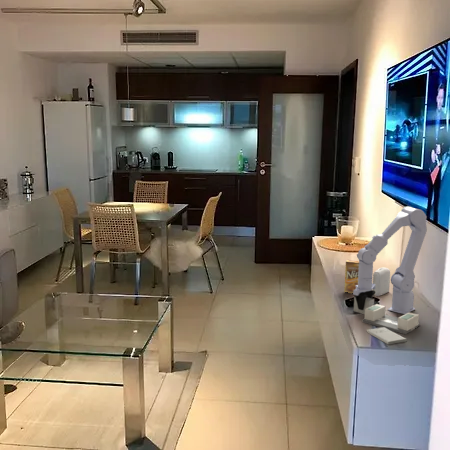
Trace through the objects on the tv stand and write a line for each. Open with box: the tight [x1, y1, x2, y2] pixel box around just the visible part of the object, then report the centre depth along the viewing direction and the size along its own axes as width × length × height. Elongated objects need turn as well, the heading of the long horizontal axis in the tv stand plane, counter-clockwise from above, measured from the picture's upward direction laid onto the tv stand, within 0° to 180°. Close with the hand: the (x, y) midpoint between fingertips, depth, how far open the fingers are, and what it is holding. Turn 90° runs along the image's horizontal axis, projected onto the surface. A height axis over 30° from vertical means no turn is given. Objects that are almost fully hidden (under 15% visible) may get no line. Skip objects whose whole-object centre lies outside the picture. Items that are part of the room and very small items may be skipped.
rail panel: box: [362, 303, 421, 335], centre depth 200 cm, size 12×18×5 cm, turn 44°
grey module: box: [353, 296, 375, 315], centre depth 214 cm, size 4×7×6 cm, turn 44°
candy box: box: [343, 259, 359, 294], centre depth 239 cm, size 9×4×15 cm, turn 64°
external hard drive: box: [366, 327, 408, 345], centre depth 188 cm, size 2×8×12 cm
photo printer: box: [372, 267, 391, 297], centre depth 239 cm, size 10×4×12 cm, turn 133°
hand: (363, 308), depth 214 cm, fingers closed on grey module, 4 cm apart
